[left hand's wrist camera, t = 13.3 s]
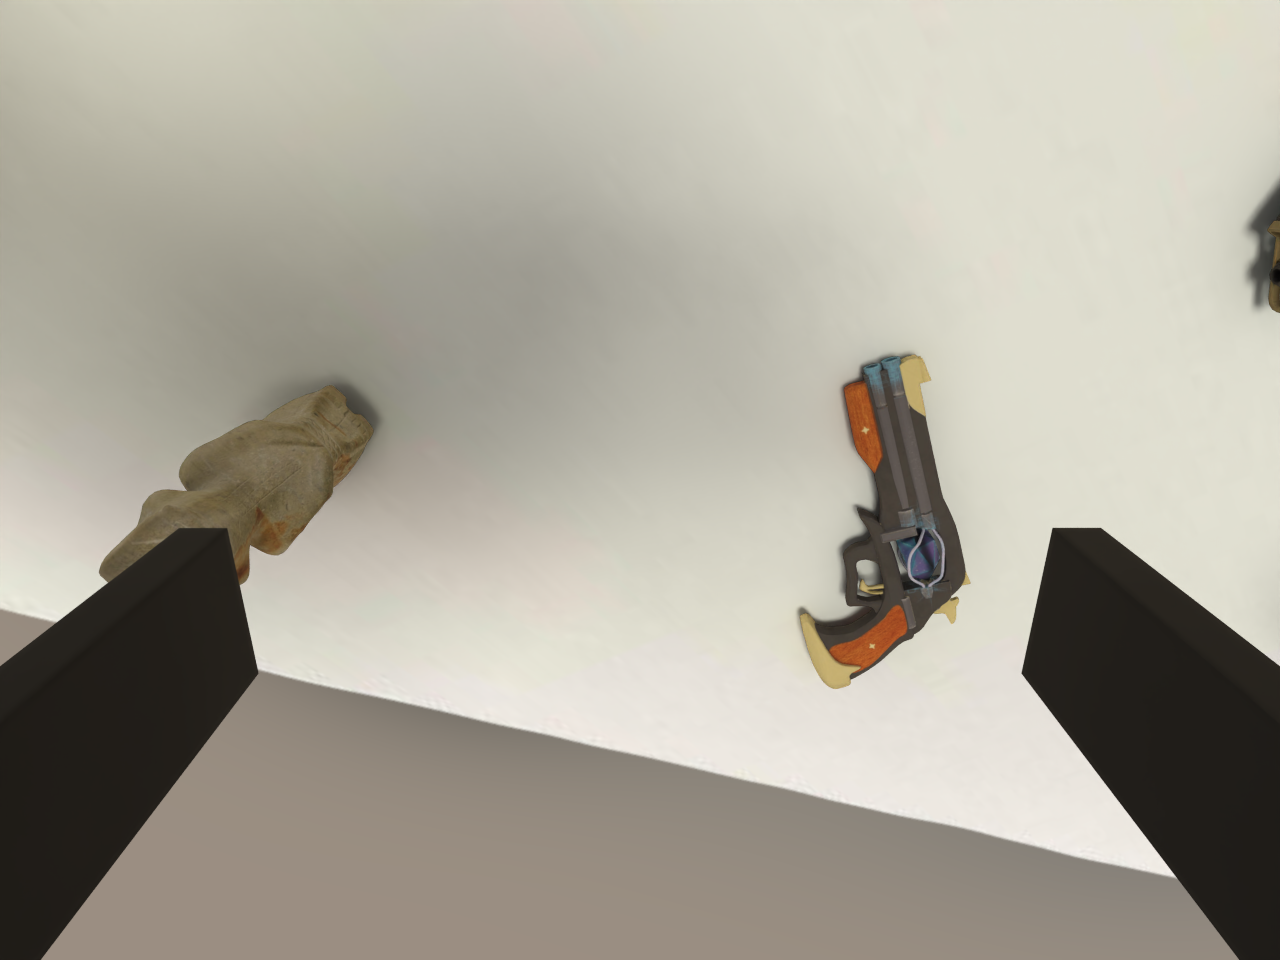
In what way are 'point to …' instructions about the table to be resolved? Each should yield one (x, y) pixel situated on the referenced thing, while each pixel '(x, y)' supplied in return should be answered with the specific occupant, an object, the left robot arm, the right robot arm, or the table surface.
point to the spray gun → (1275, 268)
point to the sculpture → (255, 481)
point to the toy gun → (892, 527)
